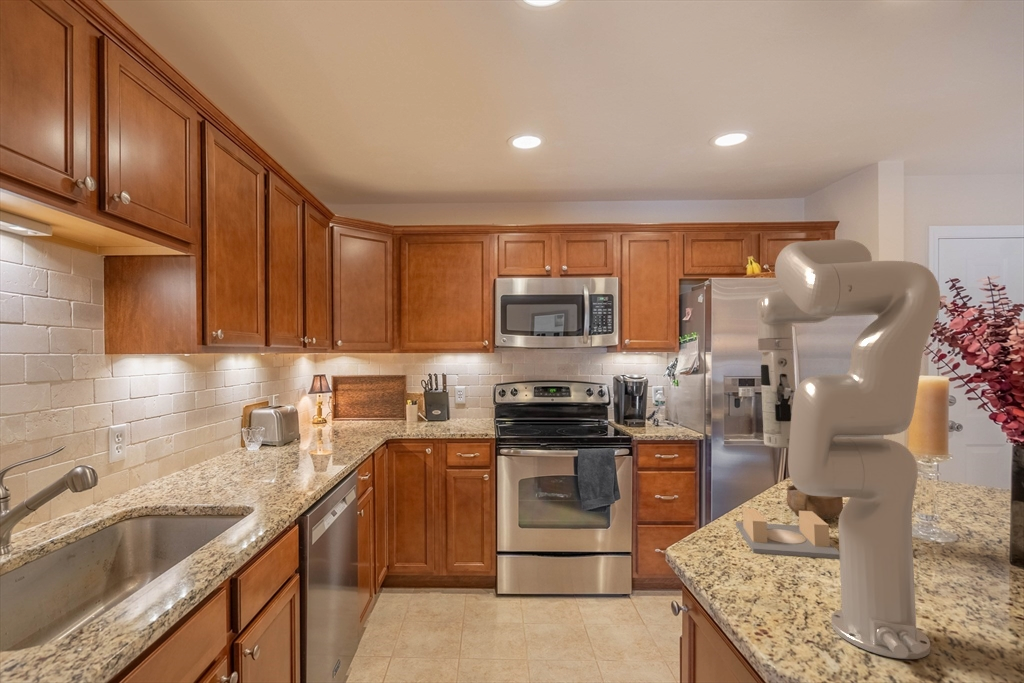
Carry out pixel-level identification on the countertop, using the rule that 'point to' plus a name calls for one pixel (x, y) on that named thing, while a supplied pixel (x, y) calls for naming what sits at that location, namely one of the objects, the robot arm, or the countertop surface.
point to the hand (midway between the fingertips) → (778, 418)
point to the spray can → (773, 415)
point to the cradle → (787, 536)
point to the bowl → (814, 503)
